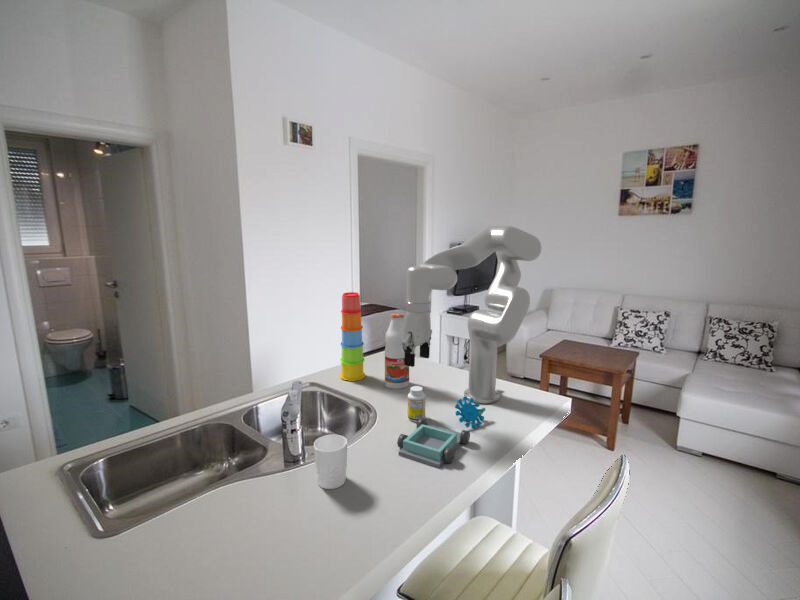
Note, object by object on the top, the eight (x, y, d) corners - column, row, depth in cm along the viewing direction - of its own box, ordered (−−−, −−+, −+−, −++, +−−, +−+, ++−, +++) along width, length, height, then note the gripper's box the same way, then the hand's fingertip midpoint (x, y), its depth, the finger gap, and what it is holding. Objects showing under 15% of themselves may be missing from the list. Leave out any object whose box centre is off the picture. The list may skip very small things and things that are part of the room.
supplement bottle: (414, 413, 135) (415, 383, 133) (428, 418, 131) (429, 387, 130) (404, 419, 131) (404, 388, 129) (417, 424, 127) (418, 393, 125)
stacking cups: (370, 375, 169) (369, 292, 163) (354, 383, 160) (353, 295, 154) (350, 370, 174) (348, 290, 168) (334, 378, 166) (332, 293, 159)
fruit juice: (406, 379, 164) (406, 311, 159) (411, 388, 155) (411, 316, 150) (383, 381, 163) (382, 311, 158) (386, 390, 154) (386, 317, 149)
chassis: (423, 425, 126) (424, 414, 126) (471, 438, 119) (471, 427, 118) (393, 453, 111) (393, 440, 111) (445, 470, 103) (445, 457, 103)
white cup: (320, 494, 94) (319, 454, 92) (311, 476, 101) (309, 439, 99) (352, 485, 98) (352, 446, 96) (341, 468, 104) (340, 431, 103)
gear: (462, 428, 122) (453, 396, 127) (452, 435, 126) (444, 404, 131) (492, 425, 126) (481, 395, 132) (482, 432, 131) (472, 402, 136)
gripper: (420, 302, 134) (419, 352, 137) (393, 310, 119) (392, 367, 122) (441, 304, 130) (440, 356, 133) (415, 313, 115) (414, 371, 118)
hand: (417, 361), depth 127 cm, fingers open, 9 cm apart
